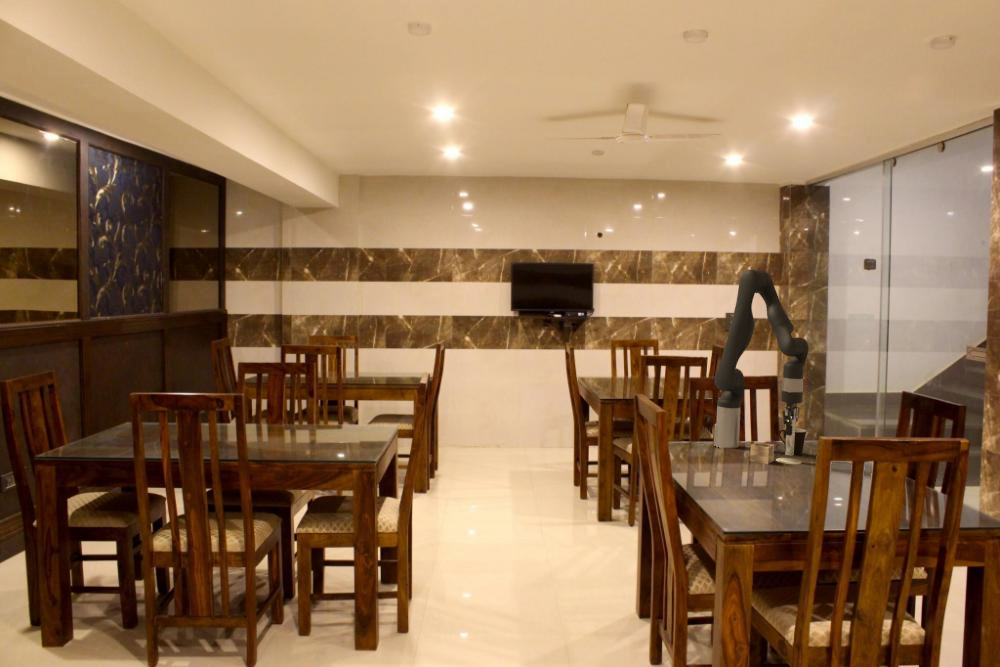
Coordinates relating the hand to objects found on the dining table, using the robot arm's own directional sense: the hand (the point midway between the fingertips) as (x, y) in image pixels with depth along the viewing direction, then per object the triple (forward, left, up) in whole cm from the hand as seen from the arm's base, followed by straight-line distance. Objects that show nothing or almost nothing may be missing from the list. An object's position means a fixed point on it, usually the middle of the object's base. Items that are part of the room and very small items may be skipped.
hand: (790, 434), depth 275 cm
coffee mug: (-4, +19, -11) cm, 22 cm away
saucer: (0, 0, -11) cm, 11 cm away
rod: (0, 0, -8) cm, 8 cm away
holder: (-8, -7, -11) cm, 16 cm away
